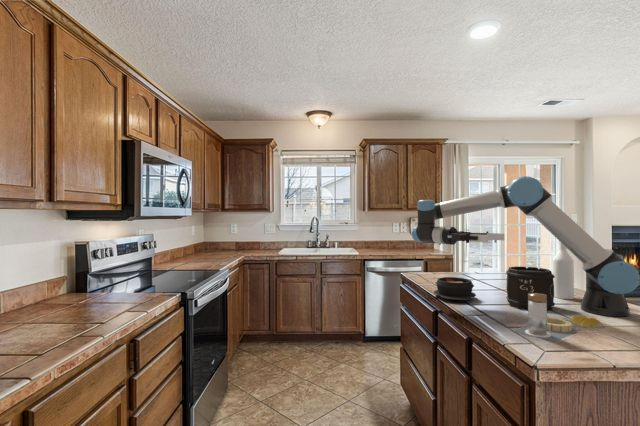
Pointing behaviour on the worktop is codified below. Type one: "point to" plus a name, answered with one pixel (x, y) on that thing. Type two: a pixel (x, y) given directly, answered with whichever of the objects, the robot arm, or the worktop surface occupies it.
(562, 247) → the bottle
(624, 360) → the worktop surface
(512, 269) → the labelled black crock
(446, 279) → the casserole
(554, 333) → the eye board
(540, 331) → the jar with brown lid
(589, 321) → the bread roll
